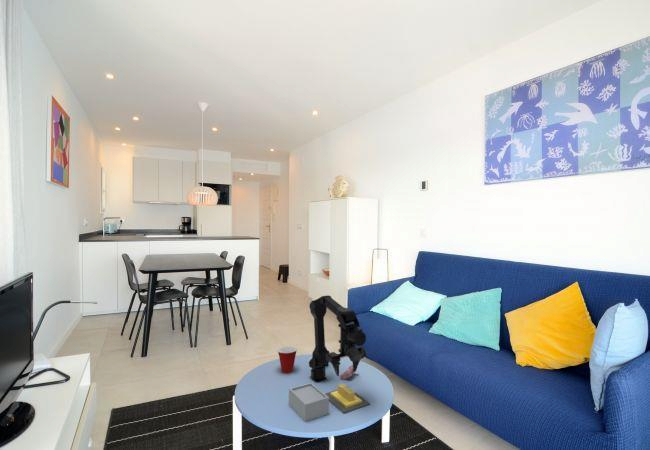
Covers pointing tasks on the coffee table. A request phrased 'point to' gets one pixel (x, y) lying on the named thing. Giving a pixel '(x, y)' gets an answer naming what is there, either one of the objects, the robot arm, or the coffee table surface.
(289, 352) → the plastic cup
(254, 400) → the coffee table surface
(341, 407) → the mat
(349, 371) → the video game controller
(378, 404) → the coffee table surface
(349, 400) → the lid
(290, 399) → the box
